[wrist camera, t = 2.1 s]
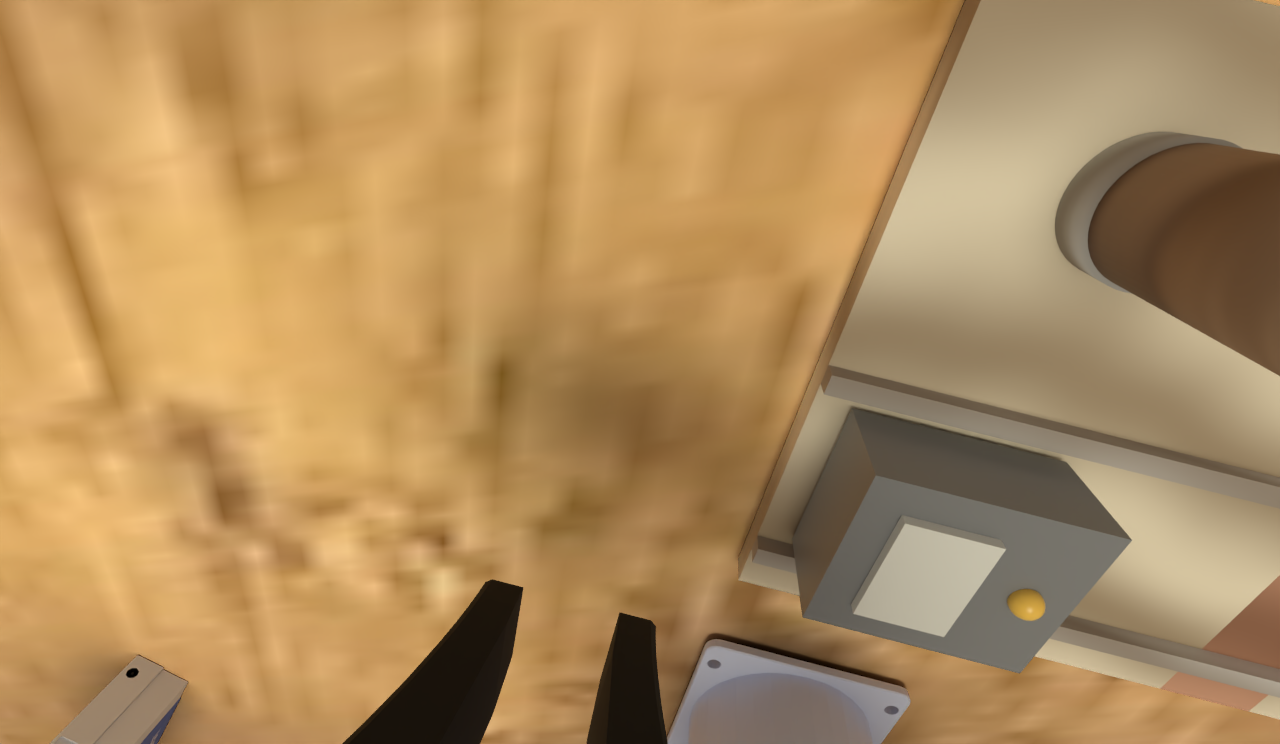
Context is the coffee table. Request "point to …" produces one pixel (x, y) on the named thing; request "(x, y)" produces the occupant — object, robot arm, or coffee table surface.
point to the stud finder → (949, 542)
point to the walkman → (128, 708)
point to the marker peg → (1184, 233)
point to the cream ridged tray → (1071, 330)
